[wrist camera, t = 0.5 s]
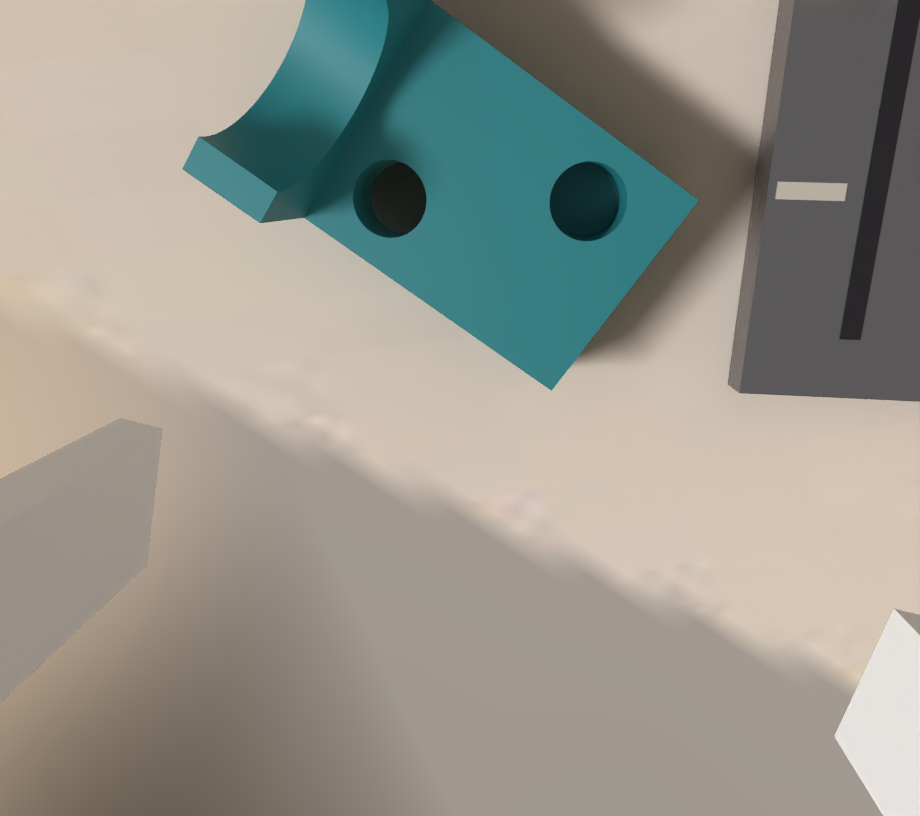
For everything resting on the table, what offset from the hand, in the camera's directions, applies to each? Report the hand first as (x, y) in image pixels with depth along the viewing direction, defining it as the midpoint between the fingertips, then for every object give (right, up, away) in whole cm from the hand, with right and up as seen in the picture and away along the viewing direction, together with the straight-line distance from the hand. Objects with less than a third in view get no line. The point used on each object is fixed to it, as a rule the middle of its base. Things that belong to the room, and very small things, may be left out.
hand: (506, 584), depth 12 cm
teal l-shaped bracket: (0, +15, +24) cm, 28 cm away
